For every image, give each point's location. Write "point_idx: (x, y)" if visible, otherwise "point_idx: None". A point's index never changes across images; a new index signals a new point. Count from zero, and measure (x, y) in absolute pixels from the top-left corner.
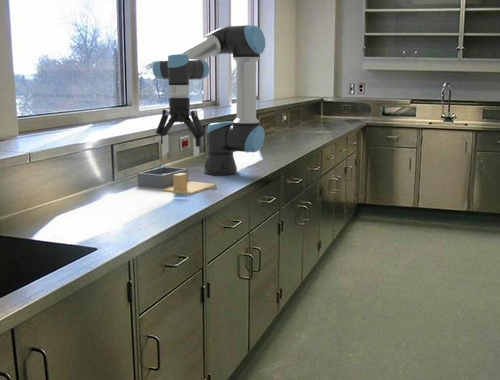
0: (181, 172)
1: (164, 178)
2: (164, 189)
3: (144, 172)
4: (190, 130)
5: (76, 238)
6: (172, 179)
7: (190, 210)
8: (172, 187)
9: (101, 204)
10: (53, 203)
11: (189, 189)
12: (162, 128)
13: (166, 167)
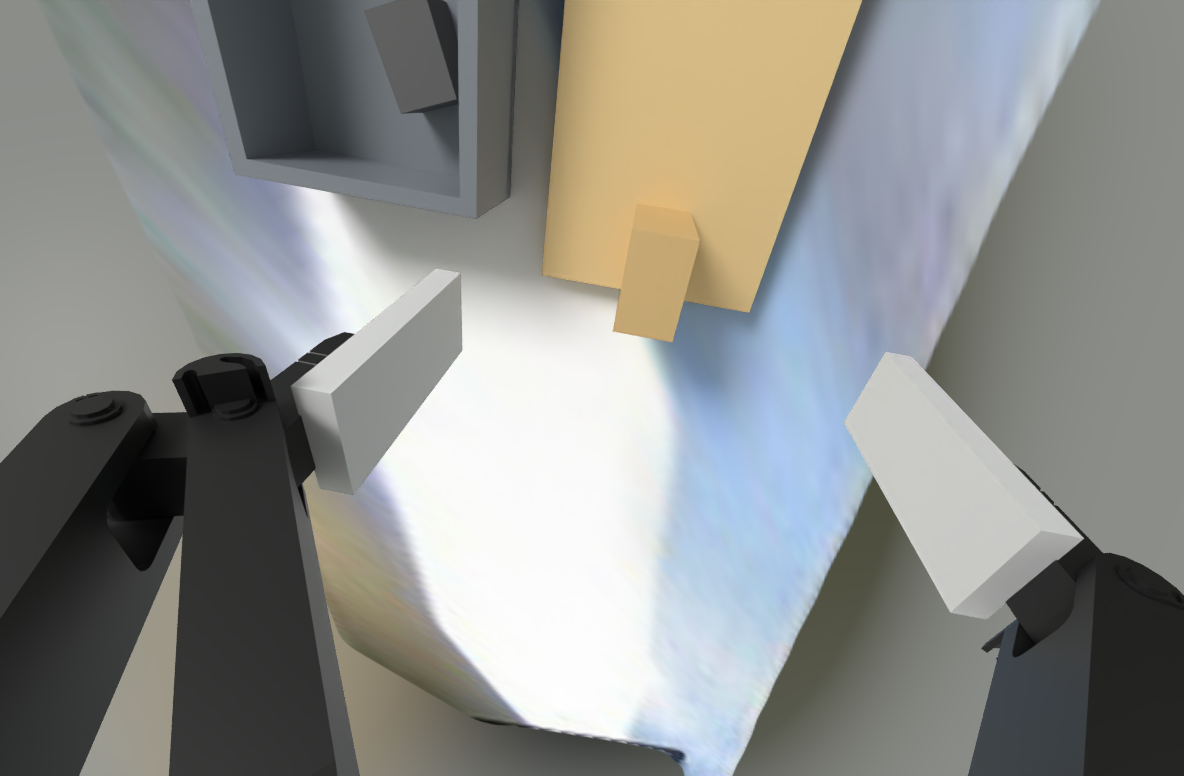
0: None
1: (485, 186)
2: (553, 274)
3: (233, 92)
4: (974, 757)
5: (608, 722)
6: (496, 53)
7: (805, 532)
8: (571, 195)
9: (442, 515)
10: None
11: (711, 226)
12: (84, 501)
13: None
